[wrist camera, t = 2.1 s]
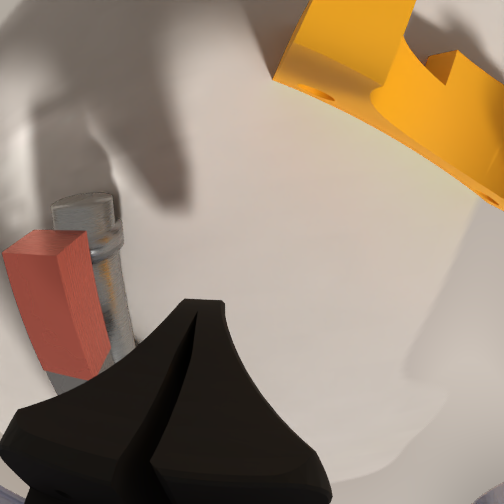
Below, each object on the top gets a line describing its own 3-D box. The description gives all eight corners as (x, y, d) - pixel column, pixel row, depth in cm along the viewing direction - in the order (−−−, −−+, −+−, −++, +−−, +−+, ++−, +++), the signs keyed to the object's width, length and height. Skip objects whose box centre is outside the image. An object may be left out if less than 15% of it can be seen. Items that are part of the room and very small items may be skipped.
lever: (154, 453, 15) (148, 480, 13) (105, 443, 15) (97, 468, 13) (96, 230, 9) (67, 256, 8) (26, 229, 9) (-6, 252, 8)
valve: (182, 447, 20) (176, 481, 17) (128, 438, 20) (119, 471, 17) (144, 190, 12) (114, 213, 10) (59, 192, 12) (18, 214, 9)
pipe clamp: (514, 131, 11) (607, 158, 5) (486, 202, 13) (574, 254, 7) (311, -7, 9) (357, -89, 3) (271, 80, 11) (293, 42, 5)
